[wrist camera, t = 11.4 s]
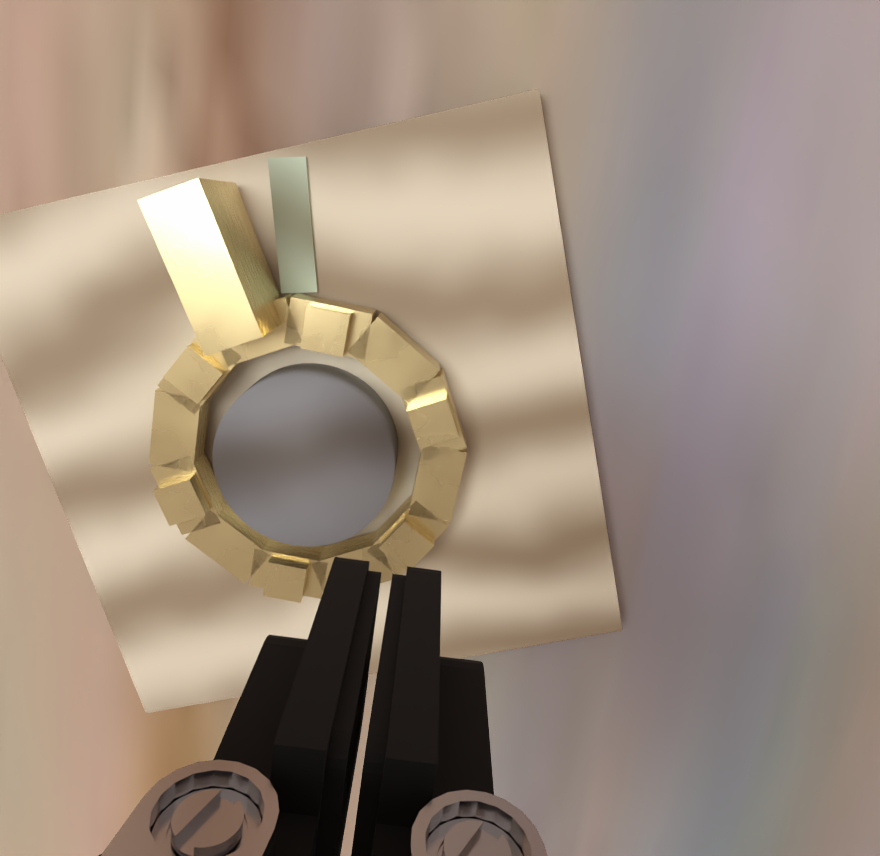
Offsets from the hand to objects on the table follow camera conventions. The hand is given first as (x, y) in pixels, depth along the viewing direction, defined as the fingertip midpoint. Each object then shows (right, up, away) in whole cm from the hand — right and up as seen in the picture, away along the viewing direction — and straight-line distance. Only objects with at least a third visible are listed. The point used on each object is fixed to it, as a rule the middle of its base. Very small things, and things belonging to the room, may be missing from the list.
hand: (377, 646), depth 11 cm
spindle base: (-5, +3, +23) cm, 24 cm away
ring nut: (-6, +5, +21) cm, 22 cm away
